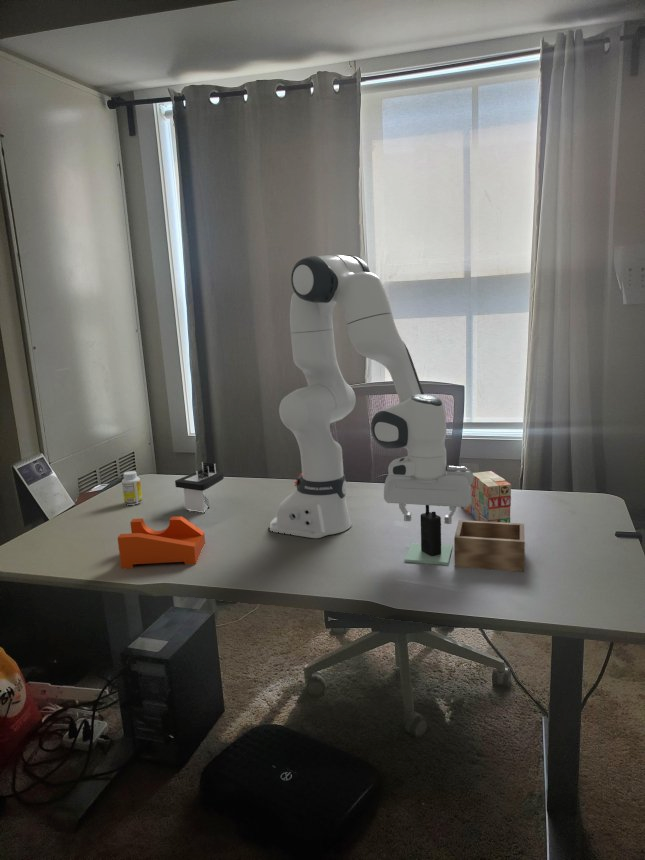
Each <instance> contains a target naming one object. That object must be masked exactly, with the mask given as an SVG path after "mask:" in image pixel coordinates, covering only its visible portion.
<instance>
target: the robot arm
mask: <svg viewBox="0 0 645 860" xmlns="http://www.w3.org/2000/svg"><path fill="white" fill-rule="evenodd" d="M290 283H291V287H292V290H293V294H292V295H291V297H290V298H291V299H290V305H289V328H290V329H289V330H290V331H289V332H290V338H291V339H290V341H291V351H292V358H293V359H292V360H293V363H294V365H295V366H296V367H297V368H299V370H300V371H302V373H303V375H304V377H305V380H306V382H307V386H304V387H301V388H300V387H299V388H297V389H295V390H293V391H291V392H289V394H287V395H285V396H284V397H283V398H282V399H281V401H280V402H279V403H280V404H279V407H278V413H279V417H280V420H281V422H282V424H283V425H284V426H285V428H287V429H288V430H290V431H291V433H292V434H293V436H294V437H295V439H296V442H297V444H298V448H299V453H300V462H301V464H300V465H301V473H300V474H299V475H298V477H297V478H296V479H295V481H294V487H296V489H295V490H294V491H293V492H292V493H290V494H288V496H286V497H285V498H284V499H283V500H282V501H281V502H280V504H279V506H278V508H277V512H276V513H277V514H276V515H277V516H275V517H274V518H272V520H271V521H270V523H269V528H270V529H269V530H270V532H272V531H273V532H272V533H278V532H279V534H284V533H285V534H286V535H290V534H291V535H292V536H297V537H304V538H311V539H320V538H323V537H325V536H329V535H335V534H339V533H340V534H341V533H343V532H346V531H347V530H348V529H350V528H351V527H352V524H353V523H352V520H351V518H350V514H349V510H348V505H347V500H346V494H347V493H346V492H347V481H346V474H344V463H343V461H344V459H343V448H342V446H341V444H340V443H339V442H338V441H336V440H335V439H334V437H333V434H332V431H331V428H330V427H331V426H330V425H331V424H333V423H335V422H338V421H341V420H343V419H344V418H346V416H348V415H350V413H352V411H353V410H354V408H355V406H356V402H357V401H356V400H357V399H356V398H357V397H356V393H355V391H354V389H353V388H352V386H351V385H350V384H348V382H347V381H346V380H345V379H344V376H343V373H342V372H341V371H342V370H341V369H340V367H339V363H338V359H337V352H336V343H335V335H334V334H335V333H334V324H333V323H334V321H333V310H334V307H335V306H336V305H337V304H338V305H339V306H340V307H341V310H342V313H343V316H344V317H343V318H344V320H345V326H346V329H347V334H348V337H349V340H350V344H351V345H352V347H353V349H354V350H355V351H356V352H357V353H358V354H360V355H361V356H363V357H365V358H367V359H369V360H373V361H374V362H376V363H377V362H378V363H379V364H381V365H382V366H384V368H386V370H387V371H388V373H389V376H390V377H391V379H392V382H393V385H394V387H395V388H394V389H395V392H396V394H397V396H398V401H399V404H396V405H393V406H390V407H387V408H383V409H382V410H379V411H377V412H376V413H375V414H374V415H373V416H372V417H373V418H371V423H370V433H371V436H372V438H373V440H374V441H375V442H376V444H378V446H379V447H381V448H384V449H400V448H404V449H406V450H407V455H406V456H401V457H399V458H395V459H393V460H392V461H391V462H390V463H389V465H388V467H387V471H388V472H387V473H388V475H387V476H386V478H385V481H384V486H383V499H384V501H385V502H386V503H387V504H397V505H398V507H399V510H400V511H401V513H402V514H403V521H404V522H411V521H412V512H409V511H408V510H407V508H406V507H407V505H418V506H426V505H429V506H436V507H437V506H438V507H448V508H449V509H448V511H449V513H448V514H445V515H444V525H445V524H446V525H451V524H452V521H453V520H452V519H453V518H452V517H453V516H454V514H455V512H456V510H457V508H463V507H468V506H469V505H470V504H471V502H472V491H471V485H472V483H473V473H474V472H473V471H472V470H471V469H469V468H467V467H466V466H454V465H447V448H446V444H445V441H446V437H447V417H446V411H445V406H444V403H443V401H442V400H441V398H439V397H436V396H434V395H430V394H425V393H424V391H423V388H422V385H421V382H420V379H419V376H418V374H417V371H416V367H415V365H414V362H413V360H412V359H413V358H412V357H411V353H410V351H409V349H408V347H407V345H406V343H405V342H404V341H403V339H402V338H401V336H400V334H399V331H398V328H397V326H396V323H395V320H394V317H393V313H392V309H391V305H390V301H389V298H388V296H387V293H386V291H385V288H384V285H383V283H382V281H381V279H380V277H379V276H377V274H375V273H373V272H371V271H370V268H369V265H368V264H367V263H366V262H365V261H364V260H363V259H361V258H359V257H357V256H355V255H352V254H351V255H349V254H348V255H342V254H327V255H318V256H315V255H311V256H307V257H305V258H301V259H300V260H298V261H297V262H296V263H295V264H294V266H293V268H292V270H291V273H290Z"/></svg>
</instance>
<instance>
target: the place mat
mask: <svg viewBox="0 0 645 860" xmlns="http://www.w3.org/2000/svg"><path fill="white" fill-rule="evenodd" d="M452 551H453V545H452V544H441V554H439V555H436V556H430V555H428V554H426V553H424V552H422V551H421V542H411V543H410V546H409V548H408V550H407V552H406V555H405V557H404V562H405V563H417V564H429V565H430V564H431V565H443V566H449V563H450V559H451V554H452Z"/></svg>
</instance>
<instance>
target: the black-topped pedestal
mask: <svg viewBox="0 0 645 860" xmlns="http://www.w3.org/2000/svg"><path fill="white" fill-rule="evenodd" d="M201 468H202V469H200V470H195V472H193V473H191V474H188V475H185V476H183V477H181V478H178V479H176V480H175V481H174V482H175V483H174V484H175V488H177V489H178V488H180V489H183V493H184V503H185V510H186V509H191V510H197V511H203V512H205V508H207V507H209V508H210V505H209V499H208V498H207V496H206V494H205V491H206V490H208V489H210V488H212V486H214V485H216V484H218V483H219V482H221V481H223V480H224V479H225V477H224V472H222V471H217V468H216V463H208V462H207V463H206V462H203V461H201ZM204 500H205V501H204ZM205 513H206V512H205Z"/></svg>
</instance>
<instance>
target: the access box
mask: <svg viewBox="0 0 645 860" xmlns="http://www.w3.org/2000/svg"><path fill="white" fill-rule="evenodd" d="M456 525H457V526H456V530H455V532H454V533H455V534H454V538H453V539H454V541H453V542H454V544H453V545H454V547H453V548H454V550H453V551H454V567H455V568H456V567H458V568H470V569H481V570H482V569H484V570H494V571H509V572H522V573H525V553H526V552H525V548H526V547H525V545H526V542H525V541H526V540H525V537H526V536H525V523H521V522H520V523H518V522H510V523H503V522H484V521H477V520H463V519H458V522H457V524H456Z"/></svg>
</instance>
